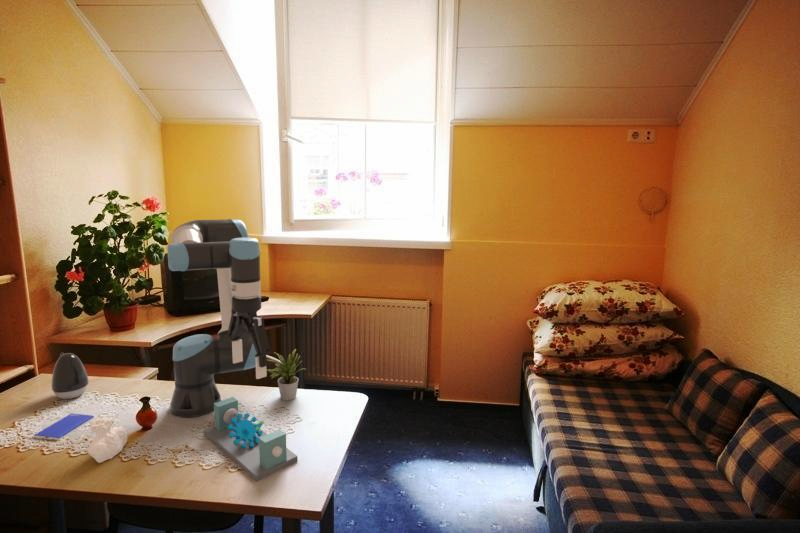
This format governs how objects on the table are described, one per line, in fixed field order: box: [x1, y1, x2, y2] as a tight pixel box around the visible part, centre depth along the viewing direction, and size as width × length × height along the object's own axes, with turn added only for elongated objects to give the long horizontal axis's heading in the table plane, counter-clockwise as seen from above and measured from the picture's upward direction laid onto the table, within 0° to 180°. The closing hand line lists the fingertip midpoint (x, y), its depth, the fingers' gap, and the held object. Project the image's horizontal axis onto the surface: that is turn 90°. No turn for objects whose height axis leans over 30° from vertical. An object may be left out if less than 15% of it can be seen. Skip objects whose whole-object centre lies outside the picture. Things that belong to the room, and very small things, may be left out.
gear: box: [227, 412, 265, 449], centre depth 126 cm, size 11×6×10 cm
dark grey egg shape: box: [51, 352, 89, 400], centre depth 153 cm, size 10×10×15 cm
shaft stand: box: [203, 396, 299, 482], centre depth 125 cm, size 31×12×9 cm, turn 47°
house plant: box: [266, 348, 306, 401], centre depth 157 cm, size 14×14×16 cm
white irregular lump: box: [86, 416, 129, 464], centre depth 121 cm, size 12×8×11 cm
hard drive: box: [33, 413, 95, 441], centre depth 134 cm, size 2×8×12 cm
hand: (249, 369), depth 125 cm, fingers open, 13 cm apart
